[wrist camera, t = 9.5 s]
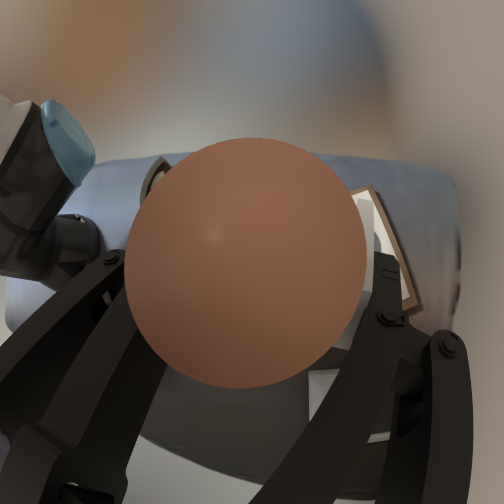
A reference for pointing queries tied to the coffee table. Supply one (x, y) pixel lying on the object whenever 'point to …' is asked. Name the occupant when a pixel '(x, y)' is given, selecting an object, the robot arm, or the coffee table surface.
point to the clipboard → (387, 243)
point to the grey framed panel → (322, 383)
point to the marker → (245, 263)
